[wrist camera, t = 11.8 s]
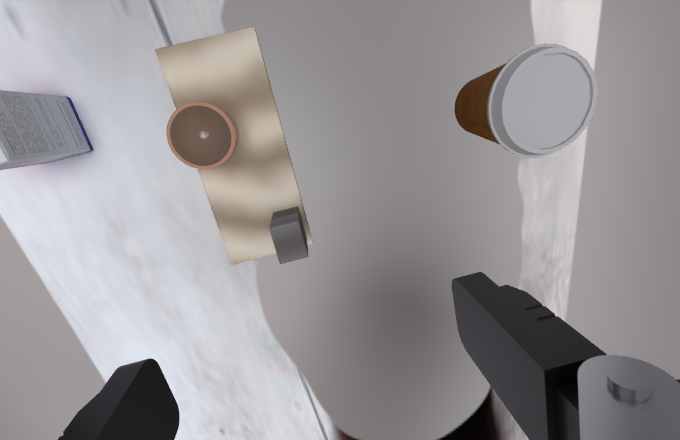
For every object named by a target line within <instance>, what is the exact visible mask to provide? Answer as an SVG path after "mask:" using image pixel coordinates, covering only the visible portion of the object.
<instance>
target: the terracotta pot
mask: <svg viewBox="0 0 680 440" xmlns="http://www.w3.org/2000/svg"><path fill="white" fill-rule="evenodd" d="M167 140H168V143H169V146H170V148H171V150H172V151H173V153H174V154H175V155H176V157H177V158H178V159H180V160H181V161H182V162H183V163H185V164H187V165H189V166H191V167H194V168H198V169H210V168H214V167H217V166H219V165H221V164H222V163H224V162H225V161H226V160H228V159H229V158H230V156H231V155H232V153H233V152H234V149H235V147H236V145H237V143H238V140H239V130H238V127H237V124H236V123H235V121H234V120H233V118H232V117H231V116H230V115H228V114H227V113H225V112H224V111H223V110H221V109H220V108H218V107H217V106H215V105H212V104H209V103H203V102H192V103H187V104H185V105H183V106H181V107H179V108H178V109H177V110H176V111H175V112H174V113H173V114H172V115H171V117H170V119H169V122H168V125H167Z"/></svg>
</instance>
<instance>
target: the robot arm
mask: <svg viewBox="0 0 680 440" xmlns="http://www.w3.org/2000/svg"><path fill="white" fill-rule="evenodd" d="M452 292H453V299H454V306H455V313H456V320H457V326H458V331H459V335H460V338H461V341H462V343H463V345H464V347H465V349H466V351H467V352H468V354H469V355H470V357H471V358H472V360H473V361H474V362H475V364H476V365H477V367H478V368H479V369H480V371H481V372H482V374H483V375H484V377H485V378H486V379H487V381H488V382H489V384H490V385H491V386H492V388H493V389H494V391H495V392H496V393H497V395H498V396H499V398H500V399H501V400H502V402H503V403H504V405H505V406H506V407H507V409H508V410H509V412H510V413H511V415H512V416H513V417H514V419H515V420H516V422H517V423H518V424H519V426H520V427H521V429H522V430H523V431H524V433H525V434H526V436H527V437H528V438H529V440H680V380H676V379H675V378H673V377H672V376H671V375H670V374H668V373H667V372H665V371H664V370H662V369H660V368H658V367H656V366H654V365H652V364H650V363H647V362H645V361H642V360H638V359H635V358H631V357H626V356H618V355H607V354H605V353H604V352H603V351H602V350H600V349H599V348H598V347H596V346H595V345H594V344H593V343H591V342H590V341H589V340H588V339H586V338H585V337H584V336H582V335H581V334H580V333H579V332H577V331H576V330H575V329H573V328H572V327H571V326H570V325H568V324H567V323H566V322H564V321H563V320H562V319H561V318H559V317H558V316H557V317H556V316H555V314H554V313H553V312H551V311H550V310H549V309H548V308H546V307H545V306H544V307H543V306H542V304H541V303H540V302H539V301H537V300H536V299H535V298H533V297H532V296H531V295H530V294H528V293H527V292H525V291H522V290H519V289H517V288H514V287H511V286H509V285H504V286H500V287H499V286H498V285H496V284H495V283H494V282H493V281H492V280H491V279H489V278H488V277H487V276H486V275H485V274H483V273H482V272H478V273H474V274H470V275H466V276H463V277H459V278H455V279H453V280H452ZM178 427H179V409H178V405H177V402H176V400H175V398H174V396H173V394H172V392H171V390H170V388H169V385H168V383H167V381H166V379H165V377H164V375H163V373H162V371H161V368H160V366H159V365H158V363H157V362H156V361H155V360H154V359H146V360H143V361H139V362H135V363H131V364H127V365H124V366H121V367H119V368H117V369H116V371H115V372H114V373H113V375H112V376H111V378H110V379H109V380H108V382H107V383H106V385H105V386H104V387H103V389H102V390H101V391H100V393H98V394H97V395H96V396H95V397H94V398H93V399H92V400H91V401H90V402H89V403H88V404H87V405H85V406H84V407H83V408H82V409H81V410H80V411H79V412H78V413H77V414H76V416H75V417H74V418H73V420H72V421H71V423H70V424H69V425H68V427H67V428H66V429H65V431H64V432H63V433H64V435H63V436H61V437H59V439H58V440H174V438H175V436H176V433H177V430H178Z"/></svg>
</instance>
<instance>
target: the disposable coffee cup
mask: <svg viewBox="0 0 680 440" xmlns="http://www.w3.org/2000/svg"><path fill="white" fill-rule="evenodd" d="M596 101H597V83H596V78H595V74H594V72H593V70H592V68H591V66H590V65H589V63H588V61H587V60H586V59H585V58H583V57H582V56H581V55H580V54H579V53H578V52H576V51H573V50H570V49H568V48H567V47H564V46H560V45H557V44H540V45H535V46H533V47H530V48H528V49H525V50H524V51H522V52H520V53H518V54H517V55H515V56H514V57H513V58H512V59H511V60H509V61H508V62H507V64H504V65H502V66H500V67H498V68H496V69H494V70H492V71H490V72H488V73H486V74H484V75H482V76H480V77H478V78H476V79H474V80H471V81H470V82H468V83H467V84H466V85H465V86H464V87H463V88H462V89H461V90H460V92H459V94H458V96H457V99H456V102H455V115H456V119H457V121H458V123H459V124H460V126H461V127H462V128H463V129H464V130H466V131H468V132H471V133H473V134H476V135H478V136H480V137H483V138H485V139H488V140H491V141H493V142H496V143H498V144H500V145H502V146H503V147H504V148H505V149H506V150H508V151H509V152H511V153H512V154H515V155H518V156H521V157H527V158H536V157H542V156H545V155H548V154H551V153H553V152H555V151H558V150H560V149H562V148H564V147H566V146H567V145H569V144H570V143H572V142H573V141H574V140H575V139H576V138H577V137H578V136H580V134H581V133H582V132H583V130H584V129H585V128H586V126H587V125H588V123H589V121H590V119H591V117H592V115H593V112H594V109H595V105H596Z"/></svg>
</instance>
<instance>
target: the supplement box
mask: <svg viewBox="0 0 680 440" xmlns="http://www.w3.org/2000/svg"><path fill="white" fill-rule="evenodd" d="M91 151H93V148H92V146H91V143H90V141H89V139H88V137H87V135H86V133H85V131H84V128H83V126H82V124H81V122H80V119H79V117H78V115H77V112H76V110H75V108H74V106H73V104H72V102H71V100H70V98H69V97H62V96H52V95H42V94H32V93H22V92H11V91H1V90H0V170H3V169H10V168H17V167H23V166H29V165H35V164H43V163H48V162H53V161H57V160H61V159H65V158H69V157H73V156H76V155H80V154H84V153H87V152H91Z"/></svg>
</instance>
